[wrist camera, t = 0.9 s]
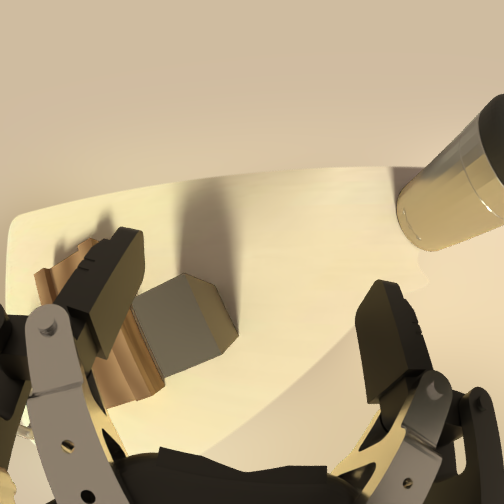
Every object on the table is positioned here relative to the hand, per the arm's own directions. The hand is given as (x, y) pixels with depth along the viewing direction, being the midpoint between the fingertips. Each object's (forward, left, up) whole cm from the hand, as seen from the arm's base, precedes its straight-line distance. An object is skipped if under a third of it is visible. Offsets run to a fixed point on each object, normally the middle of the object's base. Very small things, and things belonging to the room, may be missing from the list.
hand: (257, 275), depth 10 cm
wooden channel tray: (+19, -4, -22) cm, 29 cm away
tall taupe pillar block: (+6, 0, -22) cm, 22 cm away
